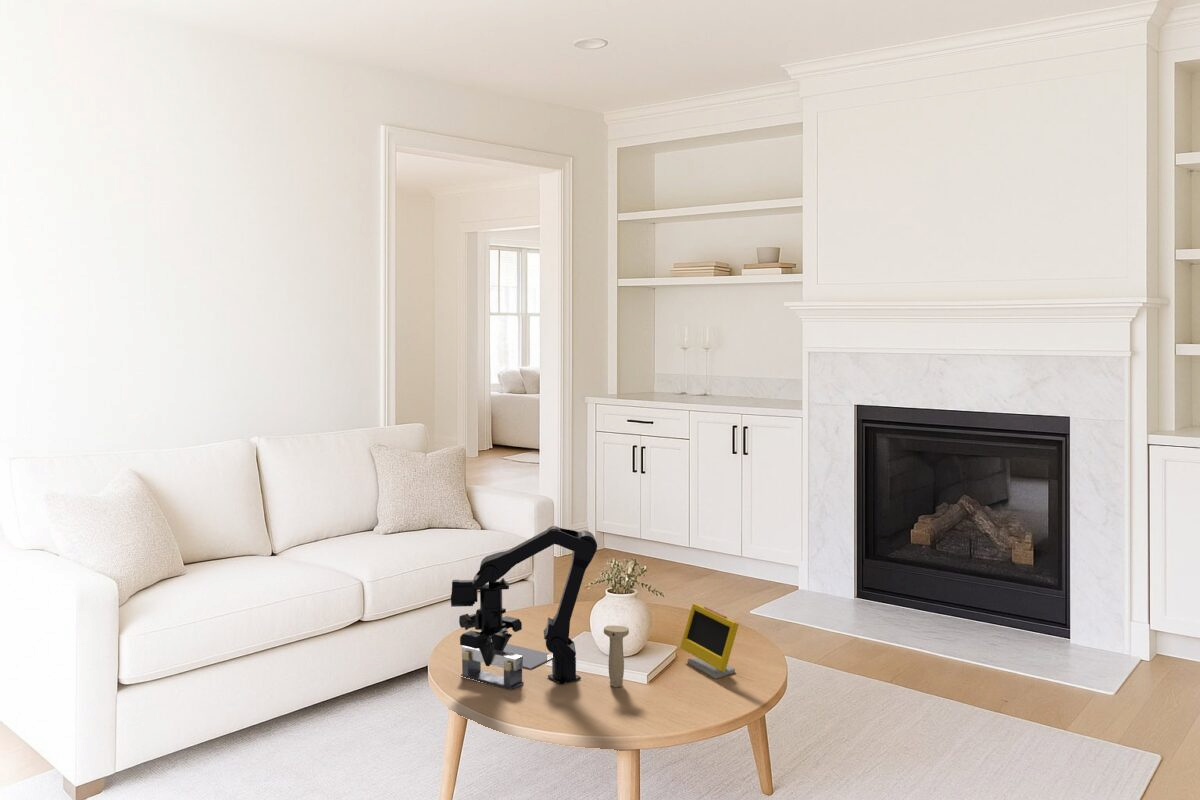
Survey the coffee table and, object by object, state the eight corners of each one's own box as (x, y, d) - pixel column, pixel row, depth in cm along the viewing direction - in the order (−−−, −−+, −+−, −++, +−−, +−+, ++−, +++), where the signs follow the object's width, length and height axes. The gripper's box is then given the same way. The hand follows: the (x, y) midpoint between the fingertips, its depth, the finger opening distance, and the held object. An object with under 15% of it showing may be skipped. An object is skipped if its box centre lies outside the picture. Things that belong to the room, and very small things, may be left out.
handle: (607, 680, 247) (607, 624, 246) (631, 683, 245) (631, 627, 244) (601, 687, 243) (601, 630, 242) (625, 690, 241) (625, 632, 239)
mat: (557, 656, 265) (557, 655, 265) (530, 669, 255) (530, 668, 255) (490, 641, 278) (490, 639, 278) (463, 652, 268) (463, 651, 268)
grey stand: (523, 684, 245) (523, 658, 244) (511, 690, 240) (511, 663, 240) (473, 671, 254) (473, 645, 253) (461, 677, 250) (460, 651, 249)
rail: (522, 667, 243) (522, 655, 243) (515, 670, 241) (515, 659, 240) (469, 653, 253) (469, 643, 253) (461, 657, 250) (461, 646, 250)
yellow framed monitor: (679, 659, 263) (680, 603, 262) (703, 655, 266) (703, 600, 265) (720, 683, 245) (721, 624, 244) (745, 678, 249) (746, 619, 248)
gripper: (490, 592, 258) (491, 648, 259) (443, 609, 242) (444, 668, 243) (522, 598, 252) (523, 655, 253) (476, 616, 236) (477, 677, 237)
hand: (491, 664), depth 247 cm, fingers closed on rail, 3 cm apart
